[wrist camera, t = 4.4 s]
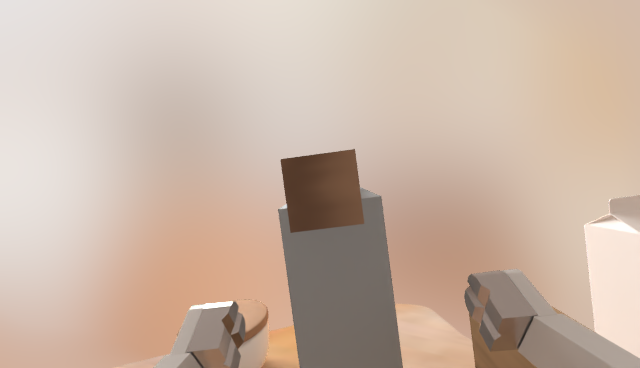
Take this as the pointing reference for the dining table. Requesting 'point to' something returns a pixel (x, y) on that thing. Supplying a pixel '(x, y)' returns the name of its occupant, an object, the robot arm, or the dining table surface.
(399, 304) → the dining table surface
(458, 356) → the dining table surface
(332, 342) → the slate block
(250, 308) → the lidded bowl
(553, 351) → the robot arm
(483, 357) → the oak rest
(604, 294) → the milk
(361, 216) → the brown long bar
